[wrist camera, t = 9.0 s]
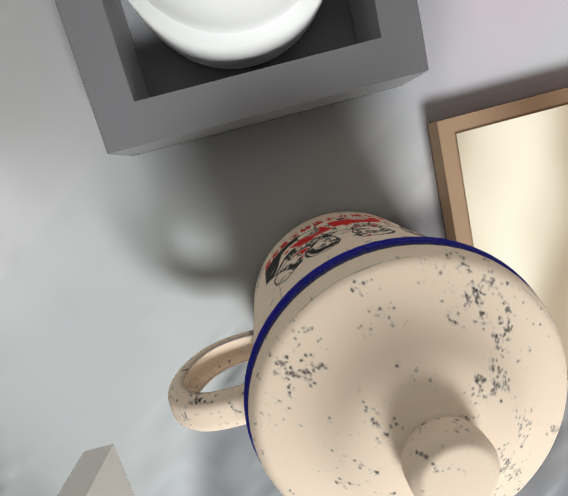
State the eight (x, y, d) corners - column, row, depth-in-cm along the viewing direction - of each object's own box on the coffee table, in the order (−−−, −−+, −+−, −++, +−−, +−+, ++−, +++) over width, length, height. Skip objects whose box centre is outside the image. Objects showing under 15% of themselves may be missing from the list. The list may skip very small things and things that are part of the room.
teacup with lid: (417, 184, 19) (666, 215, 7) (445, 358, 21) (676, 594, 9) (166, 246, 19) (23, 376, 7) (219, 415, 20) (171, 729, 9)
